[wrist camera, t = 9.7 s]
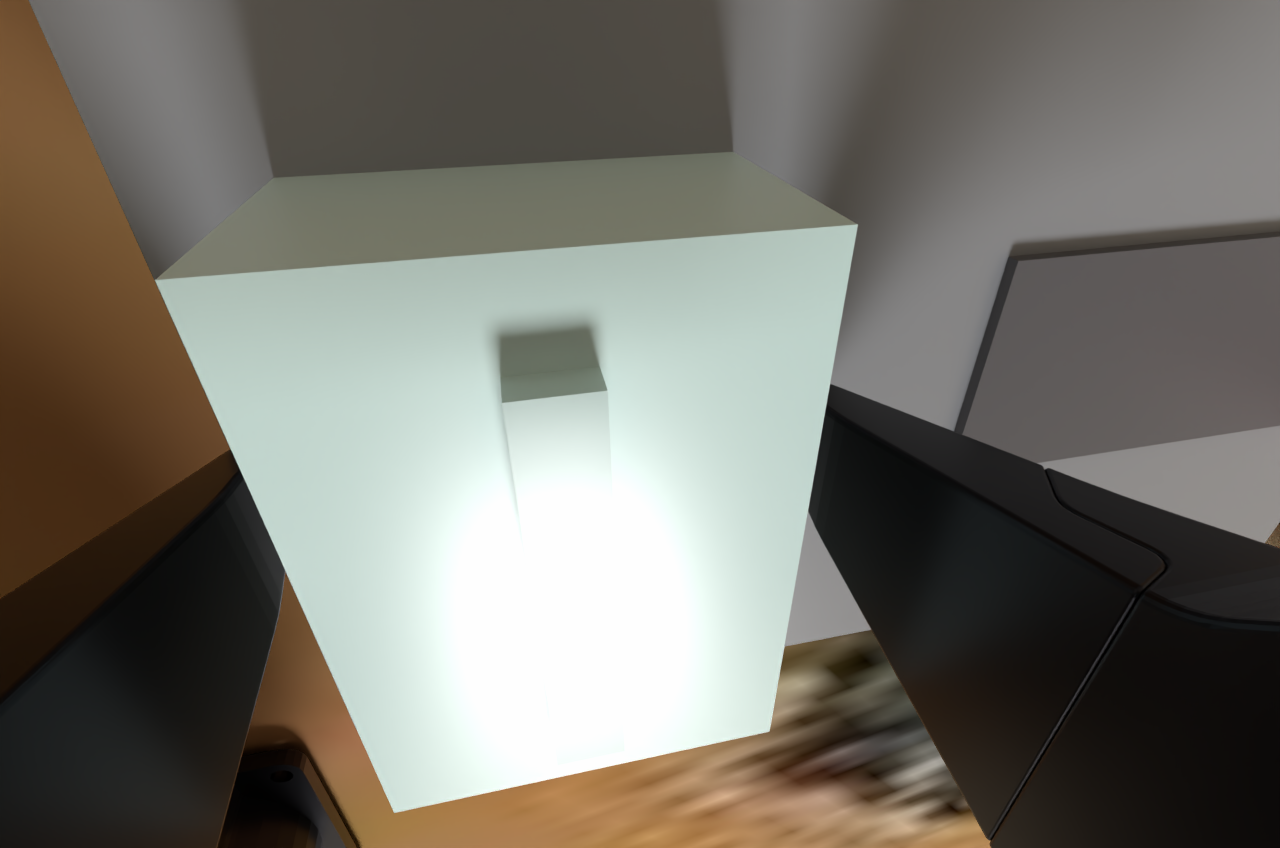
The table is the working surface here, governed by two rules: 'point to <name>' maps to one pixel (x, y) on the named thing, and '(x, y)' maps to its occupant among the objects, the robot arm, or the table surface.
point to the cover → (529, 445)
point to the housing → (814, 185)
